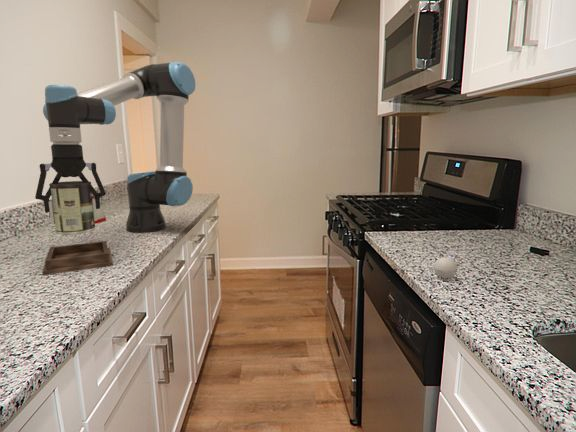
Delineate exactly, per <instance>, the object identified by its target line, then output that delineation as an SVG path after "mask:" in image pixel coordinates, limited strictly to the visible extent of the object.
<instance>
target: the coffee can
mask: <svg viewBox="0 0 576 432" xmlns="http://www.w3.org/2000/svg"><path fill="white" fill-rule="evenodd" d="M48 185H49V187H51V196H50V198H51V200H52V205H53V213H54V221H55V224H54V228H55V234H56V235H65V236H67V235H68V236H69V235H81V234H85V233H90V232H93V231H95V230H96V224H95V221H94V212H93V202H92V196H93V194H92V193H91V188H90V185H92V182H91V181H89V183H83V181H82V180H76V181H75V180H74V181H73V180H70V181H59V182H58V184H52V182H50V183H49V184H48Z"/></svg>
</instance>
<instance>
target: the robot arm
mask: <svg viewBox="0 0 576 432" xmlns="http://www.w3.org/2000/svg"><path fill="white" fill-rule="evenodd" d="M195 90H196V80H195V75H194V73H193V72H192V70H191V68H190V67H189V66H188V65H187V64H186V63H184V62H182V61H178V62H177V61H176V62H175V61H171V62H166V63H165V62H164V63H163V62H162V63H155V64H148V65H147V64H146V65H145V66H143V67H139V68H137V69H134V70H133V71H129V72H127V73H125V74H124V75H122V78H119V79H115V80H113V81H110V82H107V83H105V84H104V83H103V84H101V85H98V86H96V87H93V88H90V89H86V90H84V91H82V92H81V91H80V92H79V93H78V91H77V88H75V87H74V86H70V85H65V84H48V85H47V86H45V88H44V98H45V99H44V102H45V103H44V105H43V107H42V113H43V116H44V117H45V119H46V120H47V123H48V131H49V139H50V140H49V141H50V142H51V143H52V144H51V146H50V150H51V158H52V159H51V162H50V163H43V162H42V163H40V164H39V170H40V174H39V178H38V183H37V188H36V192H35V197H34V198H35V199H36V200H40V201H43V205H44V206H43V207H44V211H45V213H49V216H50V224H51V225H55V221H54V213H53V205H52V199H50V198H51V187H50V186H49V188H48V189H47V191H46V193H45V195H43V191H44V187H45V183H46V178H47V172H49V171H50V169H51V168H52V169H53V170H54V171H55V173H56V175H55V177H54V179H53V181H52V182H51V183H52V184H58V182H60V180H61V178H70V177H72V178H77V177H78V178H79V179H80V181H83V183H89V182H90V181H89V180H88V179H87V178H86V176H85V175H84V174H83V171H84V169H85V168H86V167H87V169H88V170H89V171H91V174H92V176H93V178H94V180H95V183H96V184H97V187H98V189H99V192H97V190H96V189H95V187H94V186H93V185H92V184H91V185H90V188H91V193H92V196H94V198H92V202H93V212H94V221H97V213H96V209H100V204H101V200H100V199H101V198H102V197H105V196H106V194H107V193H106V191H105V187H104V185H103V184H102V180H101V178H100V177H99V174H98V171H97V163H96V162H85V160H84V154H83V153H84V151H83V145H82V144H80V143H82V131H81V125H100V126H101V125H111V124H112V123H114V121H115V120H116V117H117V113H116V108H115V106H116V105H117V106H118V105H119V104H122V103H124V102H128V101H129V100H132V99H134V100H140V99H141V98H147V97H156V99H157V100H158V101H159V102H160V129H159V130H160V133H159V134H160V135H159V136H160V138H159V141H160V142H159V143H160V144H159V166H158V167H157V168H155V171H154V170H153V171H144V172H137V173H130V174H129V175H128V176H127V178H126V180H127V182H126V183H127V184H126V187H127V196H128V205H129V206H128V207H129V212H128V216H127V221H126V225H125V226H126V232H127V231H128V232H131V233H151V232H157V231H161V230H164V229H165V228H166V227H167V225H166V219H165V218H164V216H163V215H164V214H163V213H162V210H161V205H162V206H170V207H175V206H176V207H181V206H184V205H185V204H187V203H188V201H189V200H190V199H191V197H192V194H193V189H194V187H193V182H192V180H191V178H190V177H188V176H187V175H188V173H187V171H186V170H185V168H184V135H185V134H184V133H185V132H184V131H185V129H184V128H185V105H186V104H188V103H189V98H190V97H189V95H193V93H194V92H195Z"/></svg>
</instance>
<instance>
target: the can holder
mask: <svg viewBox="0 0 576 432" xmlns="http://www.w3.org/2000/svg"><path fill="white" fill-rule="evenodd" d="M44 260H45V261H44V266H43V267H42V276H45V275H46V276H47V275H53V274H60V273H67V272H73V271H74V272H75V271H80V270H81V271H82V270H88V269H94V268H95V269H97V268H103V267H109V266H110V267H111V266H114V262H113V257H112V251H111V248H110V246H109V247H108V242H107V240H102V241H95V242H85V243H75V244H67V245H57V246H50V247H49V249H48V251H47V254H46V258H45V259H44Z"/></svg>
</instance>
